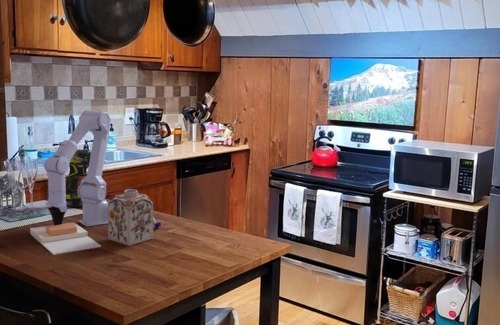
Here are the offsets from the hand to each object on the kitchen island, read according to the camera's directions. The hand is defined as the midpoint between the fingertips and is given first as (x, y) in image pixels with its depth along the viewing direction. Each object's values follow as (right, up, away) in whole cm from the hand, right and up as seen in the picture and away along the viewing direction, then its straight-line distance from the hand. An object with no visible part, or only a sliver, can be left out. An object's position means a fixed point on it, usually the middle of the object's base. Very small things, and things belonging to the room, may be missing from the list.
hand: (57, 226), depth 189 cm
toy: (+28, -2, +16) cm, 33 cm away
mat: (+9, -5, -11) cm, 15 cm away
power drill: (-5, +4, +43) cm, 43 cm away
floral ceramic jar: (+27, -5, -1) cm, 27 cm away
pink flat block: (+2, -2, -3) cm, 4 cm away
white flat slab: (0, -3, 0) cm, 3 cm away
